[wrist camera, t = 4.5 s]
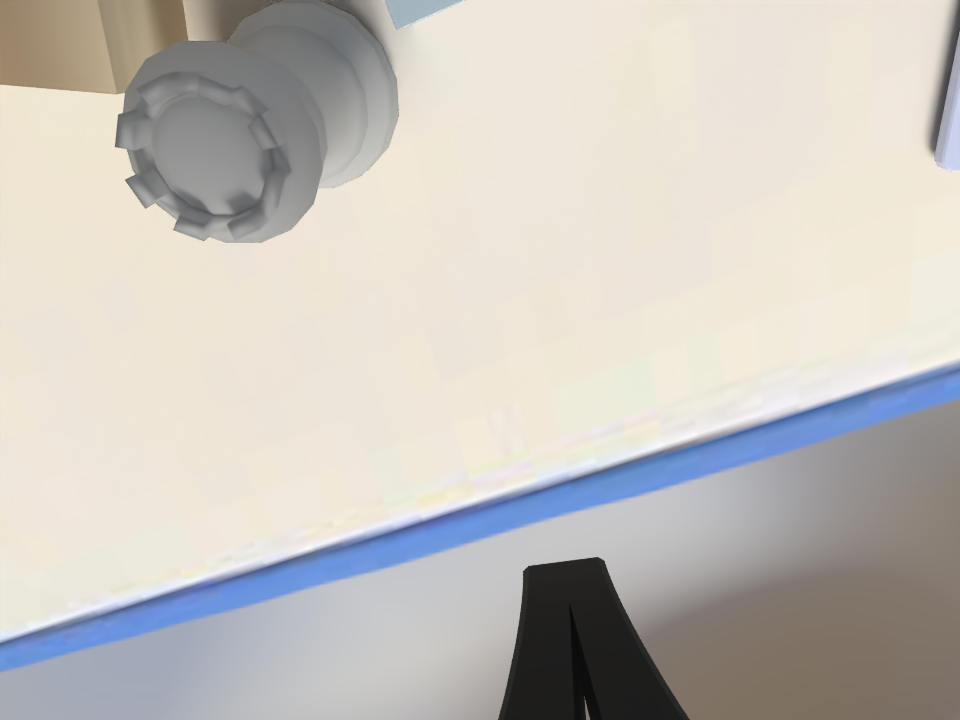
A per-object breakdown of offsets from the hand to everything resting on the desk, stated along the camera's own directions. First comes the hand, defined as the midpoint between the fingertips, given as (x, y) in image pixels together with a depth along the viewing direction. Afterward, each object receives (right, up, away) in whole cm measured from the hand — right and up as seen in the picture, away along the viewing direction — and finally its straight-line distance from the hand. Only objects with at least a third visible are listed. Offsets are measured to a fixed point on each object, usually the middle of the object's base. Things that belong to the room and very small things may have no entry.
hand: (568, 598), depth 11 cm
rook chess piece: (-6, +11, +6) cm, 14 cm away
